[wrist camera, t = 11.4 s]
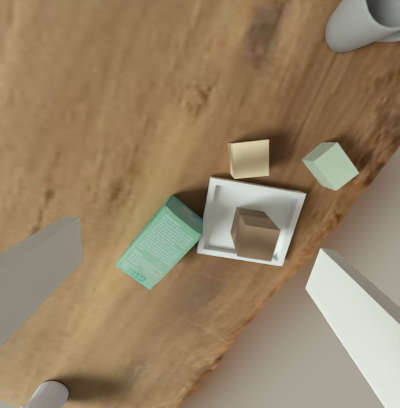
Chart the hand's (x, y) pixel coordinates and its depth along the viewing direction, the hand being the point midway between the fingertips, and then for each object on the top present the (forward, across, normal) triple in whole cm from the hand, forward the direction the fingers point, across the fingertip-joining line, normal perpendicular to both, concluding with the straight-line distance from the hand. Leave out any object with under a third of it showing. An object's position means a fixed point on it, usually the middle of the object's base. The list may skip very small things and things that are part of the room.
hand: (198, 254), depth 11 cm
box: (+24, -5, -12) cm, 28 cm away
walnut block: (+24, +9, -7) cm, 26 cm away
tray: (+24, +9, -8) cm, 27 cm away
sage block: (+25, +20, +4) cm, 32 cm away
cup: (+25, +18, +22) cm, 38 cm away
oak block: (+25, +7, +4) cm, 26 cm away
